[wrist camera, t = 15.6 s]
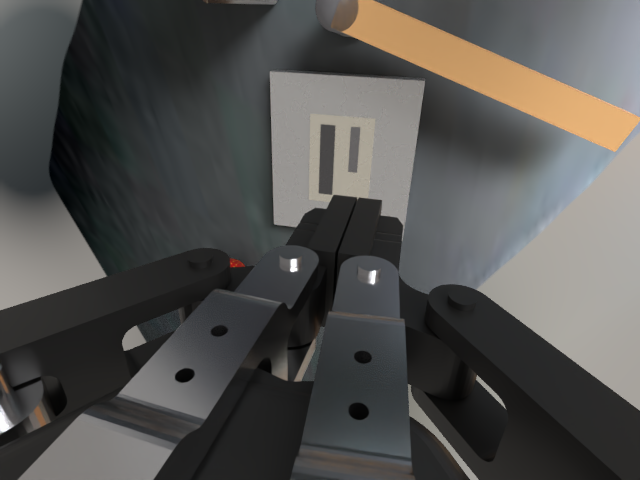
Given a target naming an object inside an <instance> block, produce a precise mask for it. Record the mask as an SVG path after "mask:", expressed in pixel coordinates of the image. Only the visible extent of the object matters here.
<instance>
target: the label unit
mask: <svg viewBox="0 0 640 480" xmlns="http://www.w3.org/2000/svg"><path fill="white" fill-rule="evenodd" d="M424 86H425V78H414V77H398V76H381V75H364V74H348V73H331V72H315V71H298V70H282V69H275V70H272V71H270V97H271V134H272V170H273V206H274V224H275V225H283V226H290V227H297V226H298V224H299V223H300V221H301V219H302V217H303V216H304V214H305V213H307V212H309V211H310V210H312V209H314V208H323V209H327V207H328V205H329V203H330V201H331V199H332V197H333V195H342V196H351V197H357V200H358V198H359V197H360V198H369V199H378V200H382V210H381V215H382V216H390V217H397V218H398V219H399V220H400V222H401V223H402V225H403V234H404V227H405V220H406V212H407V205H408V198H409V191H410V184H411V177H412V170H413V163H414V156H415V149H416V142H417V135H418V128H419V121H420V114H421V107H422V100H423V93H424ZM403 234H402V241H403Z"/></svg>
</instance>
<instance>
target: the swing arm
mask: <svg viewBox="0 0 640 480" xmlns="http://www.w3.org/2000/svg"><path fill="white" fill-rule="evenodd" d="M316 15H317V18H318V20H319V22H320V24H321V25H322V26H323V27H324V28H325V29H327V30H329V31H331V32H343V33H345V34H347V35H350V36H352V37H354V38H356V39H359V40H361V41H363V42H366V43H368V44H370V45H372V46H375V47H377V48H379V49H382V50H384V51H386V52H388V53H391V54H393V55H395V56H398V57H400V58H402V59H404V60H407V61H409V62H411V63H413V64H416V65H418V66H420V67H423V68H425V69H427V70H429V71H432V72H434V73H436V74H439V75H441V76H443V77H445V78H448V79H450V80H452V81H454V82H457V83H459V84H461V85H464V86H466V87H468V88H470V89H473V90H475V91H477V92H480V93H482V94H484V95H486V96H489V97H491V98H493V99H496V100H498V101H500V102H502V103H505V104H507V105H509V106H511V107H514V108H516V109H518V110H521V111H523V112H525V113H527V114H530V115H532V116H534V117H537V118H539V119H541V120H543V121H546V122H548V123H550V124H553V125H555V126H557V127H559V128H562V129H564V130H566V131H568V132H571V133H573V134H575V135H578V136H580V137H582V138H584V139H587V140H589V141H591V142H594V143H596V144H598V145H600V146H603V147H605V148H607V149H609V150H612V151H614V152H615V151H616V150H617V149H618V148H619V146H620V145H621V144H622V143H623V141H624V140H625V139H626V137H627V136H628V135H629V134H630V132H631V131H632V130H633V129H634V127H635V126H636V125H637V124H638V122H639V121H640V117H638V116H636V115H634V114H632V113H630V112H628V111H626V110H624V109H621V108H619V107H617V106H614V105H612V104H610V103H608V102H605V101H603V100H601V99H598V98H596V97H594V96H592V95H589V94H587V93H585V92H582V91H580V90H578V89H576V88H573V87H571V86H569V85H566V84H564V83H562V82H560V81H557V80H555V79H553V78H550V77H548V76H546V75H543V74H541V73H539V72H537V71H534V70H532V69H530V68H527V67H525V66H523V65H521V64H518V63H516V62H514V61H511V60H509V59H507V58H505V57H502V56H500V55H498V54H495V53H493V52H491V51H489V50H486V49H484V48H482V47H479V46H477V45H475V44H473V43H470V42H468V41H466V40H463V39H461V38H459V37H457V36H454V35H452V34H450V33H447V32H445V31H443V30H441V29H438V28H436V27H434V26H431V25H429V24H427V23H425V22H422V21H420V20H418V19H415V18H413V17H411V16H409V15H406V14H404V13H402V12H399V11H397V10H395V9H393V8H390V7H388V6H386V5H383V4H381V3H379V2H377V1H374V0H316Z"/></svg>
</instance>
